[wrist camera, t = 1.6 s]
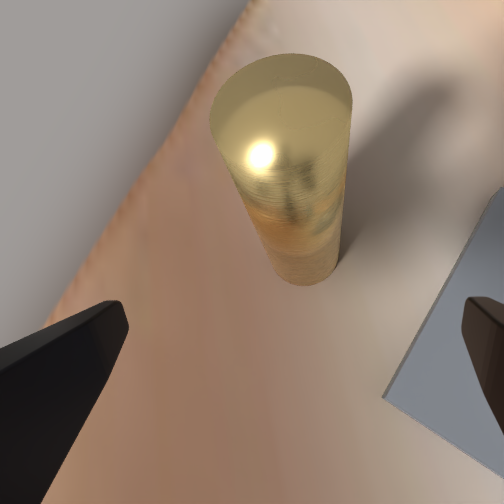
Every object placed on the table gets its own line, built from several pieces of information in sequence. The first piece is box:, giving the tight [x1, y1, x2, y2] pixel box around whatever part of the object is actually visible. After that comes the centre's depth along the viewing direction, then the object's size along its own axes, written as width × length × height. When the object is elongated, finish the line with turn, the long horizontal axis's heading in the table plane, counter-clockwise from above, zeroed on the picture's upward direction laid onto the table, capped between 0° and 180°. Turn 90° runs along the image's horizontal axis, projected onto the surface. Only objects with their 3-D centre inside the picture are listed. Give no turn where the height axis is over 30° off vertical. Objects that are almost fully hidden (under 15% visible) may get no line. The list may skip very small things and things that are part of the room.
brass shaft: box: [210, 54, 352, 286], centre depth 17 cm, size 4×4×13 cm
